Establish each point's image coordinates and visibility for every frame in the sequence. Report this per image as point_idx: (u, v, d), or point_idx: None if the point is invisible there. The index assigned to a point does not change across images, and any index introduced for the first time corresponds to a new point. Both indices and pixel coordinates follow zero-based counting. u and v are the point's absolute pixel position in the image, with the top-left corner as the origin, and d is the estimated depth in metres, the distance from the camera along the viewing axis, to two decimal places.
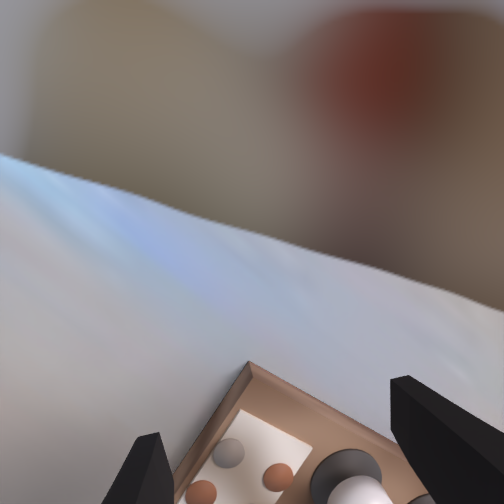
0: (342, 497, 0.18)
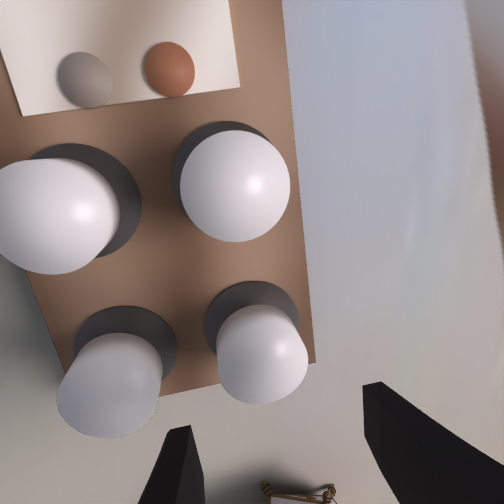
0: None
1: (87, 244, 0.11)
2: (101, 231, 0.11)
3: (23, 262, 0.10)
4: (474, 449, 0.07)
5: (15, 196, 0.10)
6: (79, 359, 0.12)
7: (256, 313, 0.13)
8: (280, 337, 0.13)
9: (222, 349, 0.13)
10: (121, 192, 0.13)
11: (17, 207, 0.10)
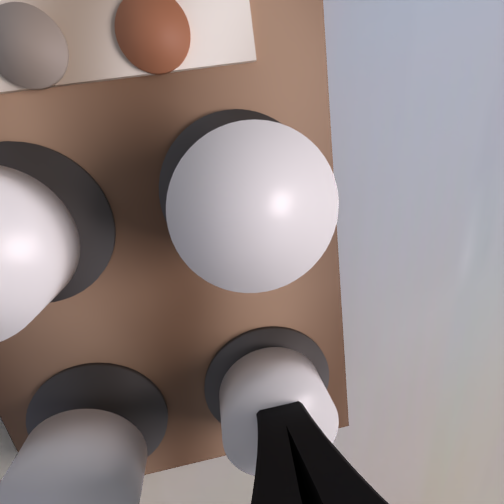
0: None
1: (18, 302, 0.07)
2: (39, 281, 0.07)
3: None
4: (358, 479, 0.07)
5: None
6: (21, 459, 0.08)
7: (271, 360, 0.10)
8: (304, 396, 0.10)
9: (229, 412, 0.10)
10: (86, 211, 0.09)
11: None
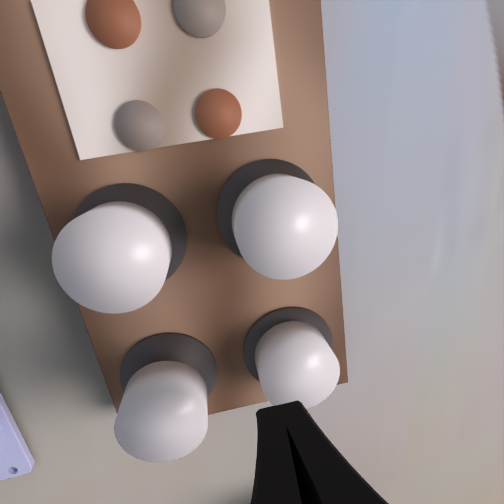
0: (286, 175, 0.12)
1: (148, 285, 0.11)
2: (161, 272, 0.11)
3: (89, 303, 0.11)
4: (358, 479, 0.07)
5: (85, 243, 0.11)
6: (134, 388, 0.13)
7: (292, 328, 0.15)
8: (316, 351, 0.14)
9: (265, 362, 0.14)
10: (169, 227, 0.14)
11: (86, 253, 0.11)
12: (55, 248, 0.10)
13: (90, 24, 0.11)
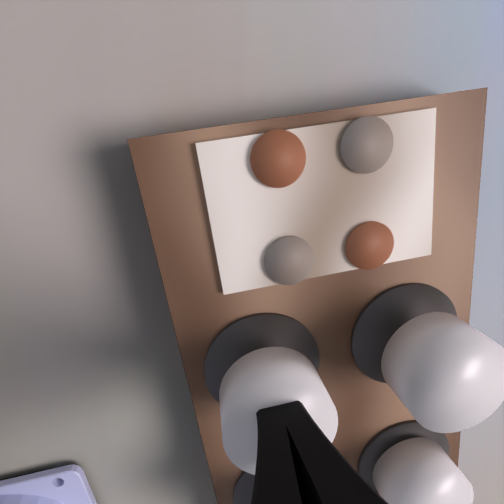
0: (454, 322, 0.11)
1: None
2: (330, 435, 0.10)
3: (252, 468, 0.10)
4: (357, 479, 0.07)
5: None
6: None
7: (421, 451, 0.14)
8: (453, 482, 0.13)
9: (400, 494, 0.13)
10: (303, 354, 0.13)
11: None
12: (229, 421, 0.10)
13: (254, 166, 0.10)
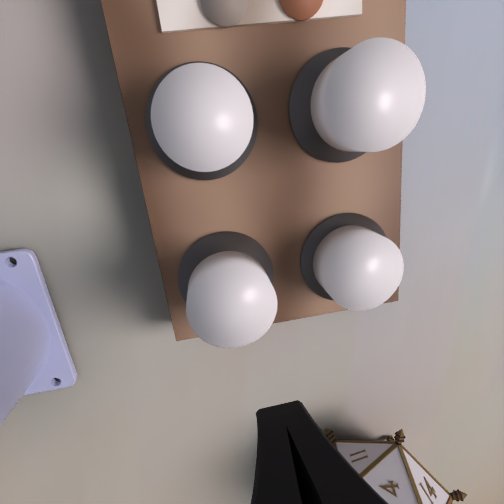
0: None
1: (234, 145, 0.12)
2: (247, 133, 0.12)
3: (179, 158, 0.12)
4: (357, 479, 0.07)
5: (182, 96, 0.11)
6: (206, 268, 0.13)
7: (356, 228, 0.15)
8: (382, 246, 0.14)
9: (331, 255, 0.14)
10: None
11: (182, 106, 0.11)
12: (155, 97, 0.11)
13: None
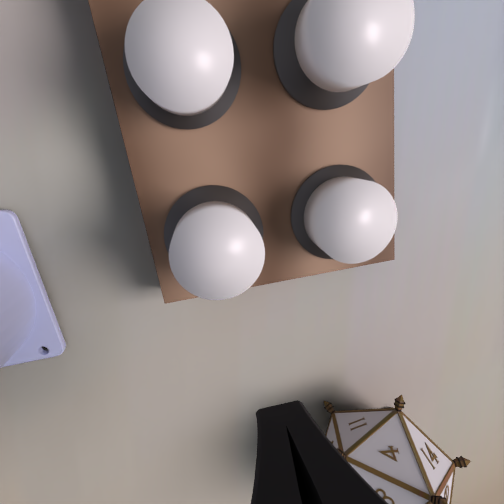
0: None
1: (214, 81, 0.12)
2: (228, 68, 0.11)
3: (156, 96, 0.11)
4: (358, 479, 0.07)
5: (157, 26, 0.11)
6: (189, 215, 0.12)
7: (347, 177, 0.14)
8: (374, 193, 0.14)
9: (321, 203, 0.14)
10: None
11: (157, 38, 0.11)
12: (129, 28, 0.11)
13: None
